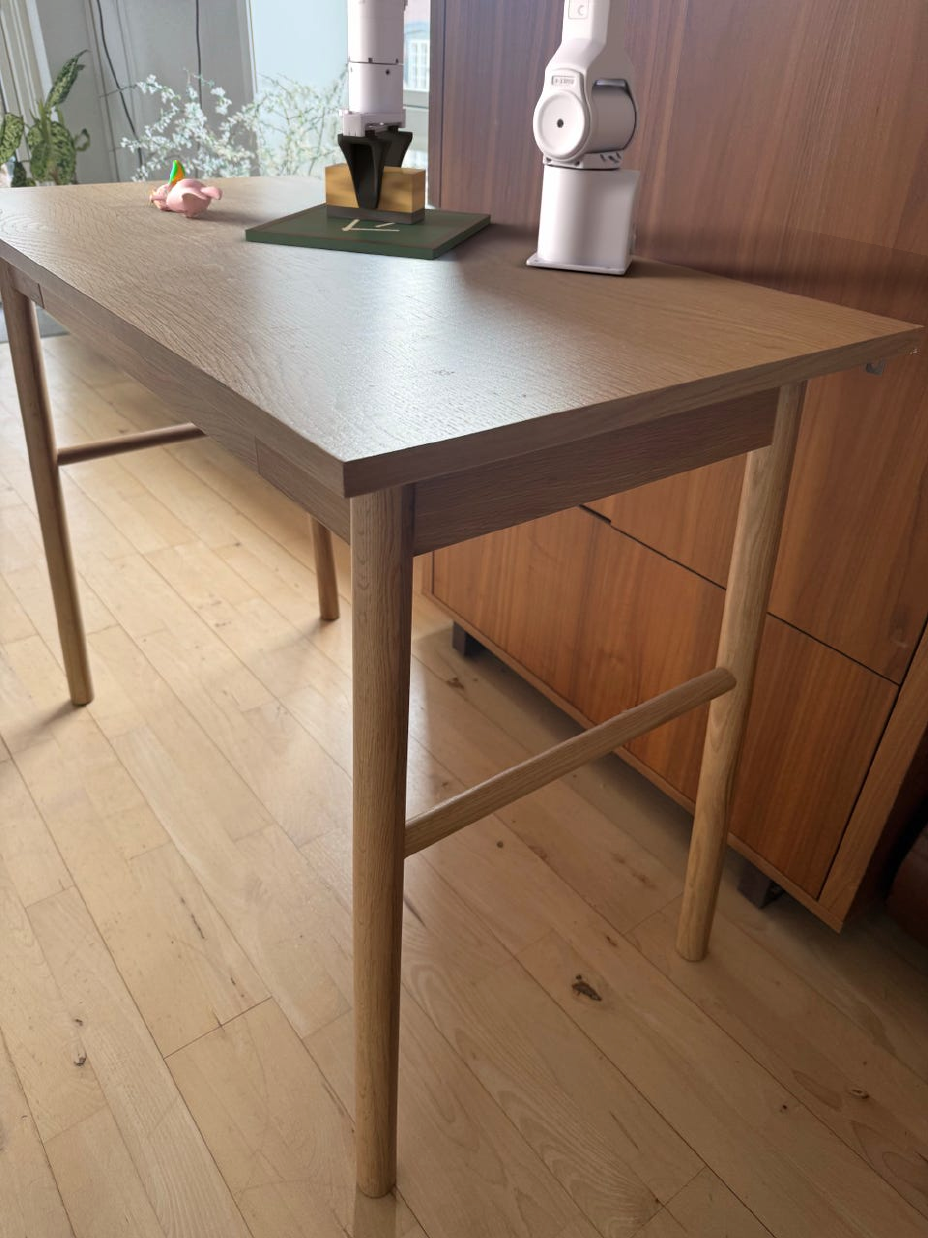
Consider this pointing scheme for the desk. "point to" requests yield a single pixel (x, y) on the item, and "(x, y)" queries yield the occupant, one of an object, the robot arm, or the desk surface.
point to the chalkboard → (372, 232)
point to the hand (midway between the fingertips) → (376, 204)
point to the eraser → (397, 196)
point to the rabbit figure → (184, 194)
